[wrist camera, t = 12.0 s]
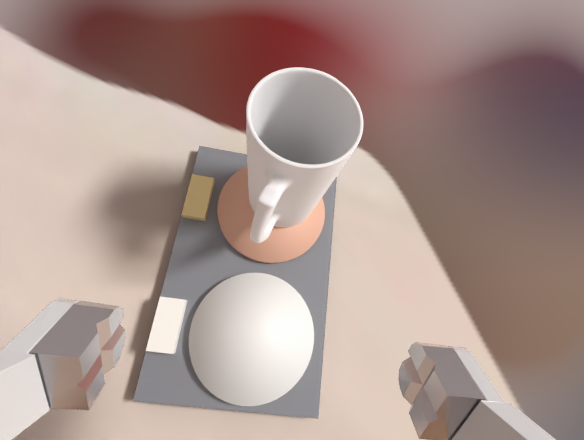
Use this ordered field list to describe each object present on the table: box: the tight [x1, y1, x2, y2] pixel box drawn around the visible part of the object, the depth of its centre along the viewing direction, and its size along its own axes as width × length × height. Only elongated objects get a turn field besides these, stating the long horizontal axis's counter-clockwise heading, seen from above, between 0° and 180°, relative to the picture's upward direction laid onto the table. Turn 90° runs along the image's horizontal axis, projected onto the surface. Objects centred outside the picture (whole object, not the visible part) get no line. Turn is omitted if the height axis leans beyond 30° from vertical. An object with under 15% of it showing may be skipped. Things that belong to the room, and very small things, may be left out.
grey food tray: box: [133, 146, 337, 419], centre depth 26 cm, size 14×22×2 cm, turn 173°
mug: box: [246, 67, 363, 243], centre depth 22 cm, size 10×7×12 cm, turn 157°
